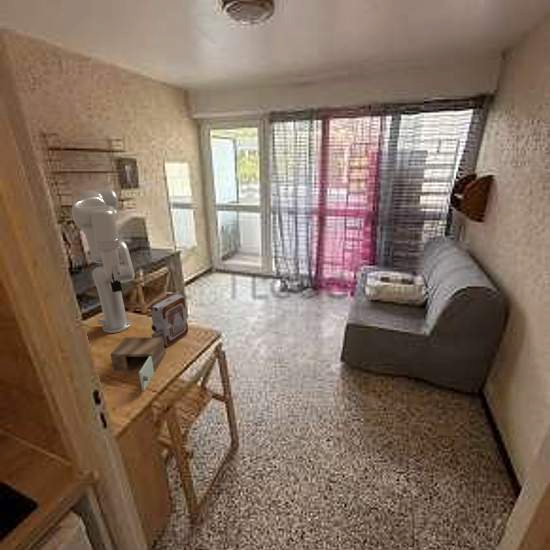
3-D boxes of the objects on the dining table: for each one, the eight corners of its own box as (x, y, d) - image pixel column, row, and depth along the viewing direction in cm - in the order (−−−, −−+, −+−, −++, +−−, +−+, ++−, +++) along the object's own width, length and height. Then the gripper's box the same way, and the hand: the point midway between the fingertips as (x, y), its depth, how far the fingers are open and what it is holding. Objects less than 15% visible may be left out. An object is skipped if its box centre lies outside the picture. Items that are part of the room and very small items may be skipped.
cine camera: (144, 349, 142) (136, 307, 135) (176, 329, 158) (171, 291, 151) (159, 355, 138) (152, 312, 131) (191, 333, 154) (186, 294, 147)
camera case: (114, 371, 127) (110, 354, 125) (128, 353, 139) (124, 337, 136) (154, 371, 127) (151, 354, 124) (165, 354, 138) (162, 337, 135)
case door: (147, 390, 117) (144, 372, 114) (142, 390, 117) (138, 372, 114) (157, 372, 126) (154, 356, 123) (152, 372, 126) (149, 356, 123)
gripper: (94, 241, 122) (103, 286, 129) (99, 251, 110) (109, 300, 117) (115, 238, 126) (124, 282, 132) (123, 247, 114) (131, 295, 121)
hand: (117, 290), depth 125 cm, fingers closed
